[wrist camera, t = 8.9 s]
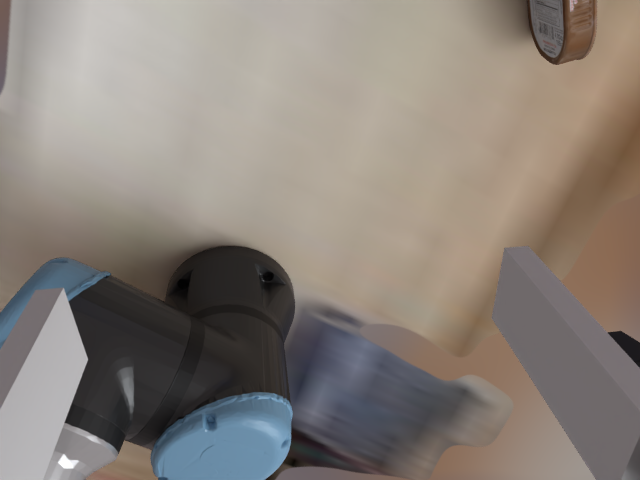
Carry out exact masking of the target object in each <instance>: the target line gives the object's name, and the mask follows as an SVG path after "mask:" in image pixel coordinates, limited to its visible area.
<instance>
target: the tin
mask: <svg viewBox="0 0 640 480" xmlns="http://www.w3.org/2000/svg"><path fill="white" fill-rule="evenodd" d="M528 14H529V23H530V28H531V33H532V36H533V40H534V43H535V45H536V47H537V49H538V51H539V53H540V54H541V56H543V57H544V58H545V59H546V60H547V61H549V62H550V63H552V64H555V65H559V64H563V63H566V62H569V61H573V60H580V59H583V58H585V57H586V56H587V55H588V54H589V53H590V51H591V49H592V47H593V44H594V41H595V37H596V30H597V0H528Z"/></svg>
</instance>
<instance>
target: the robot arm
mask: <svg viewBox="0 0 640 480" xmlns="http://www.w3.org/2000/svg"><path fill="white" fill-rule="evenodd" d="M294 313H295V299H294V291H293V286H292V283H291V281H290V278H289V276H288V275H287V273H286V272H285V270H284V269H283V268H282V267H281V266H280V265H279V264H278V263H277V262H276V261H275V260H273V259H272V258H270V257H269V256H267V255H265V254H263V253H261V252H258V251H256V250H252V249H249V248H244V247H235V246H227V247H217V248H213V249H209V250H206V251H203V252H200V253H198V254H196V255H194V256H192V257H191V258H189V259H188V260H187V261H185V262H184V263H183V264H182V265H181V266H180V267H179V268H178V269H177V270H176V272H175V273H174V274H173V276H172V278H171V280H170V282H169V285H168V289H167V294H166V298H165V302H163V301H161V300H159V299H157V298H155V297H153V296H151V295H149V294H147V293H145V292H143V291H141V290H139V289H137V288H135V287H133V286H131V285H129V284H127V283H125V282H123V281H121V280H119V279H117V278H115V277H113V276H111V273H109V272H107V271H103V272H101V271H99V270H96V269H94V268H92V267H90V266H87V265H85V264H83V263H80V262H78V261H76V260H73V259H70V258H56V259H53V260H50V261H48V262H46V263H45V264H44V265H43V266H41V267H40V268H39V269H38V270H37V271H36V272H35V273H34V275H33V276H32V277H31V278H30V279H29V280H28V281H27V282H26V283H25V284H24V285H23V287H22V288H21V289H20V290H19V291H18V292H17V293H16V295H15V296H14V297H13V298H12V299H11V300H10V302H9V303H8V304H7V305H6V306H5V308H4V309H3V310H2V311H1V312H0V480H85V479H86V478H87V477H88V476H89V475H90V474H92V473H93V472H95V471H96V470H98V469H100V468H102V467H104V466H105V465H107V464H109V463H111V462H113V461H115V460H116V458H117V456H118V454H119V451H120V449H121V446H122V444H123V442H124V440H125V441H129V442H131V443H134V444H137V445H140V446H142V447H145V448H148V449H150V450H152V452H151V458H150V459H151V464H152V467H153V472H154V474H155V475H156V477H158V480H265V479H266V478H267V477H269V476H270V475H271V474H272V473H273V472H274V471H276V470H277V469H278V467H279V466H280V465H281V464H282V462H283V461H284V459H285V458H286V456H287V454H288V451H289V448H290V444H291V420H292V413H293V412H292V407H291V402H290V393H289V385H288V376H287V367H286V359H285V350H284V342H285V340H286V337H287V334H288V332H289V329H290V327H291V324H292V321H293V318H294ZM492 319H493V321H494V322H495V324H496V325H497V327H498V328H499V330H500V332H501V333H502V335H503V336H504V337H505V339H506V341H507V342H508V344H509V345H510V347H511V349H512V350H513V352H514V353H515V355H516V356H517V358H518V359H519V361H520V363H521V364H522V366H523V367H524V369H525V370H526V372H527V373H528V375H529V377H530V378H531V380H532V381H533V383H534V384H535V386H536V387H537V389H538V390H539V392H540V394H541V395H542V396H543V398H544V400H545V401H546V403H547V404H548V406H549V408H550V409H551V411H552V412H553V414H554V415H555V417H556V418H557V420H558V421H559V423H560V425H561V426H562V428H563V429H564V431H565V432H566V434H567V435H568V437H569V439H570V440H571V442H572V443H573V445H574V446H575V448H576V449H577V451H578V453H579V454H580V456H581V457H582V459H583V460H584V461H585V463H586V465H587V467H588V468H589V470H590V471H591V473H592V474H593V476H594V477H595V479H596V480H640V343H639V342H638V341H636V340H635V339H633V338H631V337H630V336H628V335H627V334H625V333H623V332H622V331H617V332H608V333H607V332H606V331H605V330H604V328H603V327H602V326H601V325H600V324H599V323H598V322H597V321H596V320H595V319H594V318H593V316H592V315H590V313H589V312H588V311H587V310H586V309H585V308H584V307H583V305H582V304H581V303H580V302H579V301H578V300H577V299H576V298H575V297H574V296H573V295H572V293H571V292H570V291H569V290H568V289H567V288H566V287H565V286H564V285H563V284H562V282H561V281H560V280H559V279H558V278H557V277H556V276H555V275H554V274H553V273H552V271H551V270H550V269H549V268H548V267H547V266H546V265H545V264H544V263H543V262H542V261H541V259H540V258H539V257H538V256H537V255H536V254H535V253H534V252H533V251H532V250H531V248H530V247H529V246H521V247H510V248H504V253H503V259H502V264H501V270H500V275H499V281H498V286H497V292H496V298H495V303H494V309H493V314H492Z"/></svg>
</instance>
